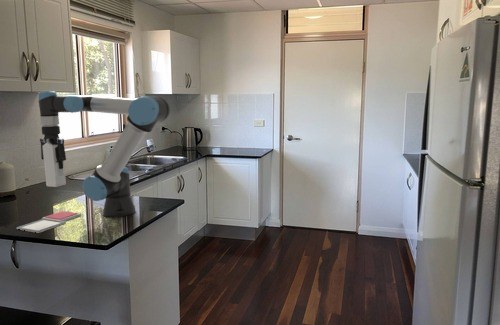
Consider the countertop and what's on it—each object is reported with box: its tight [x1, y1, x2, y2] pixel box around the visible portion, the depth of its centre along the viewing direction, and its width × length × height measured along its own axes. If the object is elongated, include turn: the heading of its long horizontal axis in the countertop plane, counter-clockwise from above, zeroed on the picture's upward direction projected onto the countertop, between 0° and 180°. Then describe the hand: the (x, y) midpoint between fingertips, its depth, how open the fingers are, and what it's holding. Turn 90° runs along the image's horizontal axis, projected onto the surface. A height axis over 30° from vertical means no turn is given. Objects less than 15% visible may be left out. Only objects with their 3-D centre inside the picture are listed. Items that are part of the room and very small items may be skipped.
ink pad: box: [41, 210, 82, 222], centre depth 194 cm, size 12×12×2 cm
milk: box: [42, 139, 67, 188], centre depth 189 cm, size 6×6×22 cm
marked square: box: [16, 218, 67, 234], centre depth 182 cm, size 14×14×1 cm
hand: (55, 175), depth 190 cm, fingers closed on milk, 6 cm apart
